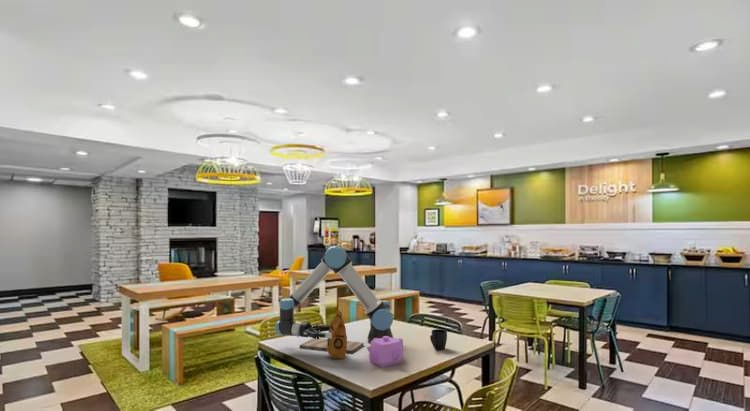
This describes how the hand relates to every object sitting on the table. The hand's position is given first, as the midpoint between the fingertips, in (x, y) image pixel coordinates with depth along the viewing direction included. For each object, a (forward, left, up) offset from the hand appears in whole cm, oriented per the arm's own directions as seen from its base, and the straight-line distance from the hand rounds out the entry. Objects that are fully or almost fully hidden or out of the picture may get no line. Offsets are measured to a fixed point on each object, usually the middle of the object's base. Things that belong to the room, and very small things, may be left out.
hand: (337, 332), depth 210 cm
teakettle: (-27, 0, -13) cm, 29 cm away
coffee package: (+1, 0, -12) cm, 12 cm away
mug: (-46, -29, -12) cm, 55 cm away
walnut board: (+11, -15, -12) cm, 22 cm away
